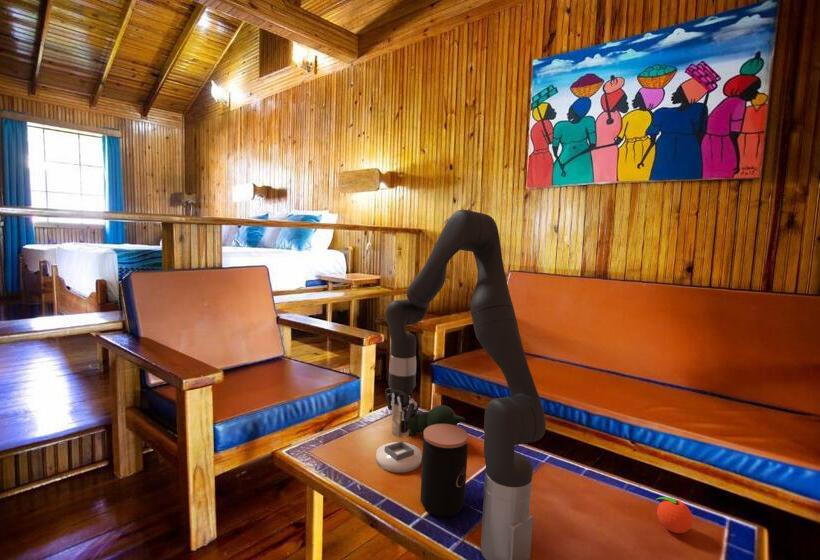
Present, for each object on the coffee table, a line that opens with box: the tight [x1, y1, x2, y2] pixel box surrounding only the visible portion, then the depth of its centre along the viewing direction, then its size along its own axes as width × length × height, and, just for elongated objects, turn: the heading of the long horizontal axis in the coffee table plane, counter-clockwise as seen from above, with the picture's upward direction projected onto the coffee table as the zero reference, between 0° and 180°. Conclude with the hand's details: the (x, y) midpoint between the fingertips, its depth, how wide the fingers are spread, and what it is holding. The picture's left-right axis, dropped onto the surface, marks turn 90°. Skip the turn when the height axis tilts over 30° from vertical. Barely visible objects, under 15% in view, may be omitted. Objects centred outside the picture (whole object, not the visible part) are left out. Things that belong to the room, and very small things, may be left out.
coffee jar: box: [419, 424, 469, 518], centre depth 104 cm, size 11×11×18 cm
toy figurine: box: [409, 383, 466, 439], centre depth 138 cm, size 9×19×25 cm
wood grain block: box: [391, 403, 410, 439], centre depth 122 cm, size 3×3×9 cm
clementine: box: [655, 496, 694, 534], centre depth 99 cm, size 8×7×7 cm
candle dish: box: [375, 440, 423, 474], centre depth 124 cm, size 13×13×4 cm
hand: (400, 428), depth 123 cm, fingers closed on wood grain block, 3 cm apart
